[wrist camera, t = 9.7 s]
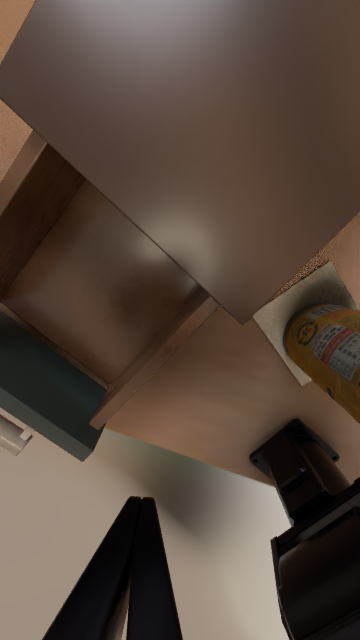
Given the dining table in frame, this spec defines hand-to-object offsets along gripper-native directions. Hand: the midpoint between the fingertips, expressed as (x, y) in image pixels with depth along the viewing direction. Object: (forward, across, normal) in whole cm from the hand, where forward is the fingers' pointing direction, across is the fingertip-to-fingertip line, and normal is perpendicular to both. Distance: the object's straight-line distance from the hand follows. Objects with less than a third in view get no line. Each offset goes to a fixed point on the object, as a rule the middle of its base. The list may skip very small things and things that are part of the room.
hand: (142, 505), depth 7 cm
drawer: (+12, +7, -3) cm, 14 cm away
